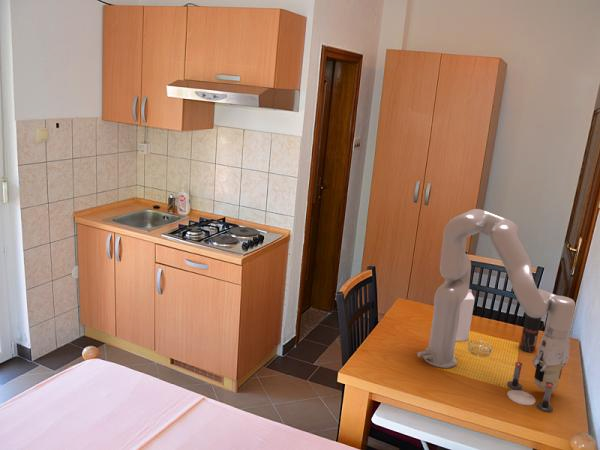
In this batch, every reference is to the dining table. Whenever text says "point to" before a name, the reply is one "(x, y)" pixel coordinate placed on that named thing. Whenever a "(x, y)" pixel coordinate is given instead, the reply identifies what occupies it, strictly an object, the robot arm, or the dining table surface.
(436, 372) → the dining table surface
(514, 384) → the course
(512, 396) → the pad
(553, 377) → the skincare box
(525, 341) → the deodorant
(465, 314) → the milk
